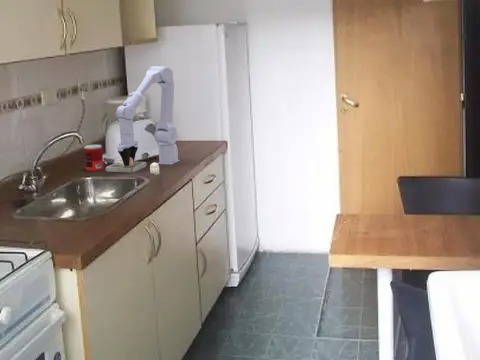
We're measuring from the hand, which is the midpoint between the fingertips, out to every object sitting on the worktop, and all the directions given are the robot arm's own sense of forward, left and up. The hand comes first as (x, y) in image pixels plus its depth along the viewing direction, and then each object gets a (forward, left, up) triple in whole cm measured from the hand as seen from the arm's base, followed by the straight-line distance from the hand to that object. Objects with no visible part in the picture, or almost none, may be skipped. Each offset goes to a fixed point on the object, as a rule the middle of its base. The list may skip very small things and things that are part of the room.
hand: (129, 164), depth 294 cm
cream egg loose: (+1, +13, -3) cm, 13 cm away
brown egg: (0, 0, -1) cm, 1 cm away
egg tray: (-3, -3, -3) cm, 5 cm away
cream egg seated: (-6, -6, -3) cm, 9 cm away
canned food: (0, -17, -3) cm, 17 cm away
